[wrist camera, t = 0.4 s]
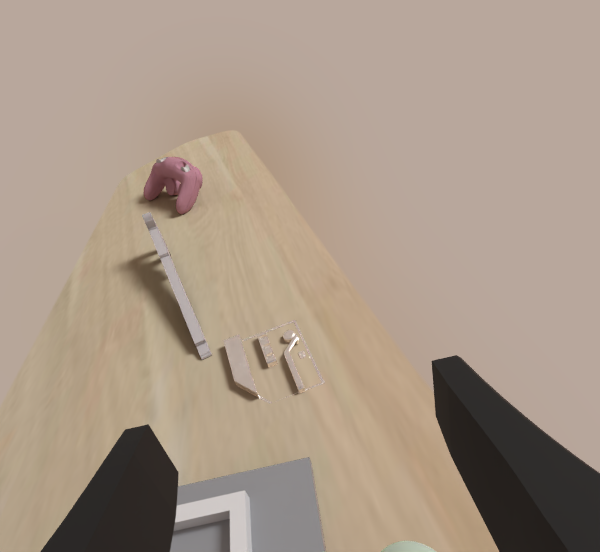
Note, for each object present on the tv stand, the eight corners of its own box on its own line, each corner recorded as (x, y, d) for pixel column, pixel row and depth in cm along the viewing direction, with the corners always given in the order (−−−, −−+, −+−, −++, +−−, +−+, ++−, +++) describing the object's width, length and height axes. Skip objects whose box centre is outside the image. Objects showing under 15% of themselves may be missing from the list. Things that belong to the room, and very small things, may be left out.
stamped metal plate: (227, 349, 40) (222, 339, 39) (296, 323, 41) (293, 313, 40) (246, 419, 34) (241, 409, 33) (326, 387, 35) (323, 377, 34)
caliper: (159, 251, 54) (139, 210, 50) (168, 248, 54) (148, 206, 50) (202, 362, 39) (178, 316, 35) (214, 357, 39) (190, 310, 35)
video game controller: (206, 213, 61) (209, 163, 59) (179, 216, 58) (180, 163, 56) (167, 197, 67) (168, 152, 65) (141, 199, 64) (141, 151, 61)
